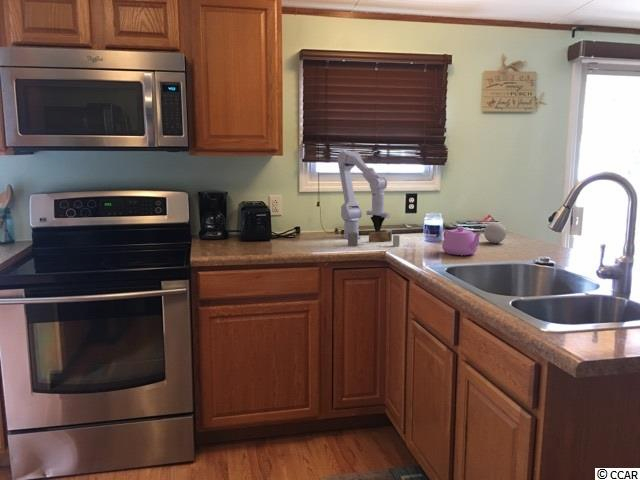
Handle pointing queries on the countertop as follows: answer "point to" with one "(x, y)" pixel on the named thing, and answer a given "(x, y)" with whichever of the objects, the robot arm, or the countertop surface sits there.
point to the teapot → (460, 241)
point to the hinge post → (391, 233)
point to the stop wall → (395, 240)
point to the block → (352, 239)
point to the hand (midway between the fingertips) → (377, 231)
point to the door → (380, 237)
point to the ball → (495, 232)
